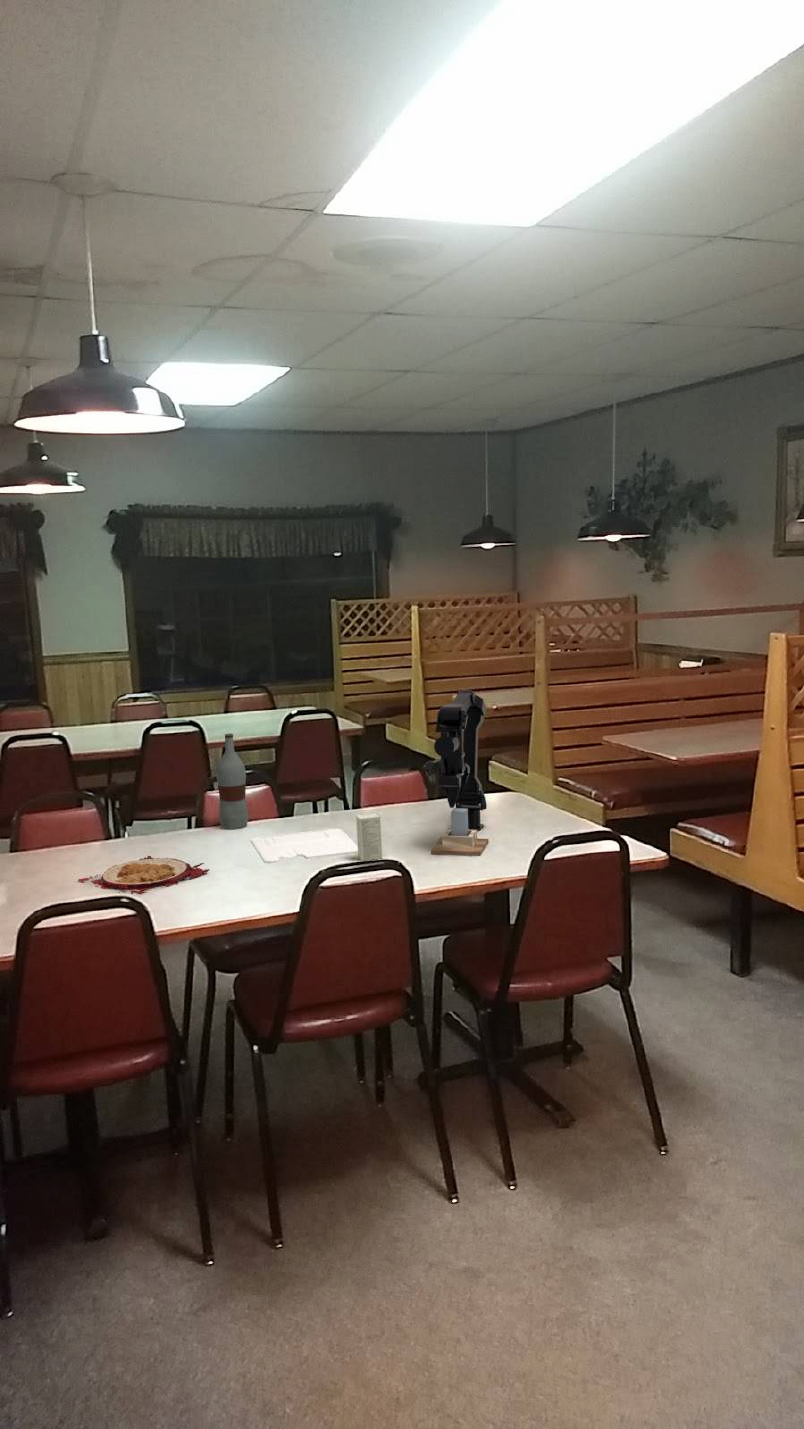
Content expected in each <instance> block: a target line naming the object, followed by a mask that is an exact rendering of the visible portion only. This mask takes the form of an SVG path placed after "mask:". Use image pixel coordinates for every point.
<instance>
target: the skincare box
mask: <svg viewBox="0 0 804 1429" xmlns="http://www.w3.org/2000/svg"><path fill="white" fill-rule="evenodd" d="M355 819H356V836H357V846H358V853H357V854H358V856H357V858H359V860H360V861H361V862H362V861H363V862H364V860H366V861H372V859H375V860H379V859H380V860H382V859H383V849H382V848H383V847H382V846H383V844H382V827H381V826H382V824H381V816H380V815H379V814H378V813H368V814H367V813H365V814H357V815H356V816H355ZM381 858H382V859H381Z"/></svg>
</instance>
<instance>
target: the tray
mask: <svg viewBox="0 0 804 1429" xmlns="http://www.w3.org/2000/svg"><path fill="white" fill-rule="evenodd" d="M250 843H251V844H252V846H253V847H254V849H255V850H256V852H257V854H258V855H259V856H260V858H261V860H262V861H263V862H264V863H265V864H279V863H280V860H281V859H289V858H297V857H301V858H302V857H303V858H304V859H306V860H311V859H318V858H329V857H337V856H345V855H353V854H358V844H356V843H355V842H354V841H353V839H352V838H350V837H349V836H348V835H347V834H346V833H345V832H344V830H342V829H341V828H326V829H318V830H309V831H308V830H307V831H302V832H292V833H291V832H290V833H282V834H273V835H264V836H255V837H252V838H251V839H250Z"/></svg>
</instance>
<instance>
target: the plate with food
mask: <svg viewBox="0 0 804 1429" xmlns="http://www.w3.org/2000/svg"><path fill="white" fill-rule="evenodd" d="M202 865H205V863H204V862H201V863H199V864H195V865H194V866H191V864H190V863H188V862H187V863H186V862H185V861H183V860H180V859H177V858H169V857H161V858H160V857H159V858H158V857H155V858H154V857H152V856H151V855H147V857H143V858H140V859H138V860H132V861H127V862H123V863H121V864H120V863H119V864H115V865H112V866H111V867H109V868H108V869H106V871H103V874H101V878H99V879H93V876H89V877H83V878H78V879H77V880H78V882H79V883H83V884H85V883H86V882H87V883H88V882H89V881H90V880H91V883H93V884H94V885H95V887H97V888H98V886H100V888H101V889H103V890H106V889H107V890H109V889H110V890H111V889H118V890H120V889H121V890H120V891H121V892H120V891H118V894H120V893H122V892H123V893H127V891H130V895H135V892H136V895H143V894H146V893H148V892H149V891H152V889H156V888H158V887H162V886H163V887H162V889H164V888H169V887H171V886H174V885H175V886H177V885H178V884H179V883H180V881H181V880H188V878H190V879H191V880H192V879H195V878H197V877H200V875H203V874H204V873H208V872H209V871H210V868H208V869H203V868H200V866H202ZM98 876H99V874H96V875H95V876H94V878H97V877H98ZM92 879H93V880H92ZM179 879H180V881H179Z"/></svg>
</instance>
